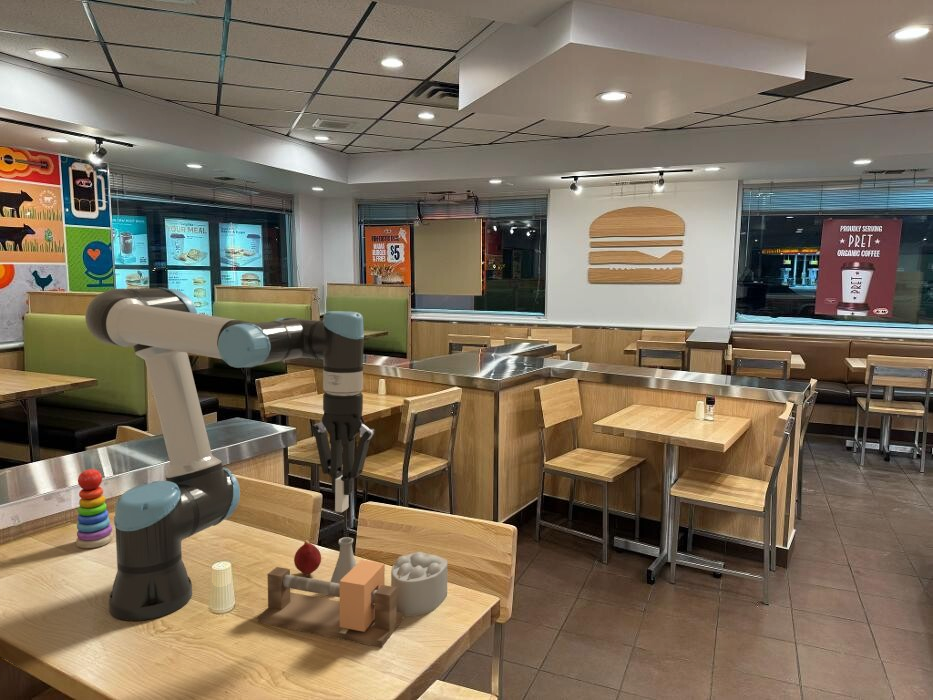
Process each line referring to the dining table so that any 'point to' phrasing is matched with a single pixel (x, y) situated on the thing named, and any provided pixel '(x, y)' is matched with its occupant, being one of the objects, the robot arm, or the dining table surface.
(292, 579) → the pipe stand
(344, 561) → the flask
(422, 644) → the dining table surface
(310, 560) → the onion
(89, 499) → the stacking toy
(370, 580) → the collar
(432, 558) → the lumpy-topped squat cylinder
